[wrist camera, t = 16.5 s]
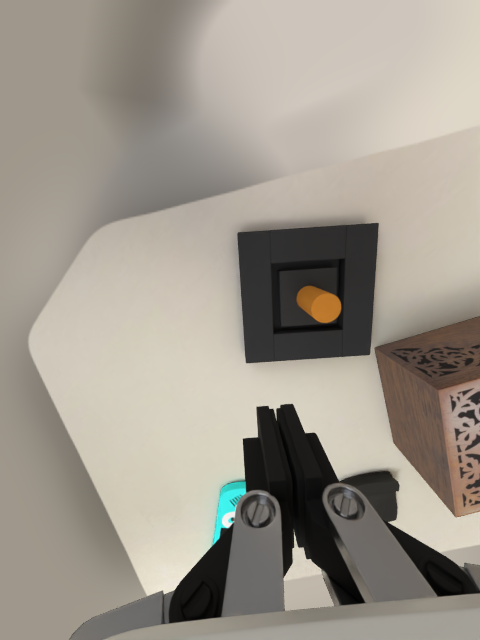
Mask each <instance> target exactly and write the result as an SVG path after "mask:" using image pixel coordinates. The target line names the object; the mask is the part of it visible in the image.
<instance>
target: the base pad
mask: <svg viewBox="0 0 480 640" xmlns="http://www.w3.org/2000/svg"><path fill="white" fill-rule="evenodd" d="M378 226H379V223H371V224H356V225H342V226H327V227H313V228H298V229H283V230H270V231H254V232H240V233H238V250H239V265H240V281H241V296H242V311H243V327H244V342H245V357H246V363H257V362H272V361H286V360H301V359H316V358H331V357H345V356H360V355H370V348H371V333H372V317H373V302H374V287H375V272H376V256H377V241H378ZM320 267H337V297H338V298H339V300H340V302H341V311H340V314H339V316H338V317H337V318H336V323H330V324H316V325H301V326H286V327H281V326H280V324H279V309H278V275H277V271H278V270H291V269H306V268H320Z"/></svg>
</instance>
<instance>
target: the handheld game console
mask: <svg viewBox="0 0 480 640" xmlns="http://www.w3.org/2000/svg"><path fill="white" fill-rule="evenodd" d="M244 494H246V482H245V481H242V482H234V483H230V484H227V485H226V486H224V487H223V488H222V489H221V492H220V499H219V506H218V513H217V519H216V526H215V533H214V540H213V545H214V544H215V542H216V541H217V540H218V539H219V538H220V537H221V536H222V535H223V534H224V532H225V531H226V530H227V529H228V528H229V527H230V526H231V525H232V523H233V522H234V519H235V512H236V507H237V503H238V501H239V500H240V498H241V497H242V496H243V495H244Z"/></svg>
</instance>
